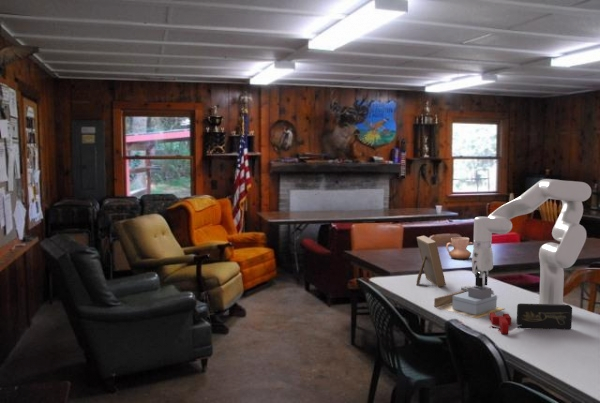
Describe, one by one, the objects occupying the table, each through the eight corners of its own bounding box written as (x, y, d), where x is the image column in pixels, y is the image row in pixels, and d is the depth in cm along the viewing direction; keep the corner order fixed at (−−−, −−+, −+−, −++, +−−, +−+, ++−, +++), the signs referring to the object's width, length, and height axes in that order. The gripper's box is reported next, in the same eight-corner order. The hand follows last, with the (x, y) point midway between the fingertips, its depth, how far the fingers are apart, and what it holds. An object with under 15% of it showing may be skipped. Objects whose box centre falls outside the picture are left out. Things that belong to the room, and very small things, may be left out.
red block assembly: (489, 322, 222) (489, 311, 222) (506, 323, 221) (507, 312, 220) (495, 335, 206) (496, 322, 206) (514, 336, 205) (515, 323, 205)
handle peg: (485, 294, 233) (486, 272, 232) (482, 295, 231) (482, 273, 230) (479, 293, 235) (480, 271, 234) (476, 294, 233) (476, 272, 232)
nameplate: (569, 328, 214) (570, 304, 213) (571, 330, 212) (572, 306, 211) (516, 327, 216) (517, 303, 215) (517, 328, 214) (518, 304, 213)
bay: (504, 312, 236) (504, 300, 236) (476, 321, 223) (476, 309, 222) (462, 301, 254) (462, 290, 253) (434, 310, 240) (434, 298, 239)
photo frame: (433, 277, 304) (433, 235, 302) (446, 286, 283) (446, 241, 280) (408, 278, 303) (408, 235, 301) (419, 287, 282) (419, 242, 279)
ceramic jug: (469, 256, 370) (469, 236, 369) (475, 260, 355) (475, 239, 354) (443, 256, 371) (443, 236, 370) (448, 260, 357) (448, 239, 356)
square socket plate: (496, 308, 236) (497, 286, 235) (475, 315, 226) (476, 292, 225) (473, 302, 246) (473, 281, 245) (452, 308, 236) (452, 287, 235)
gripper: (479, 247, 223) (478, 290, 225) (500, 243, 233) (499, 284, 235) (464, 245, 229) (463, 286, 230) (485, 241, 239) (484, 281, 240)
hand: (481, 285), depth 232 cm, fingers closed on handle peg, 3 cm apart
